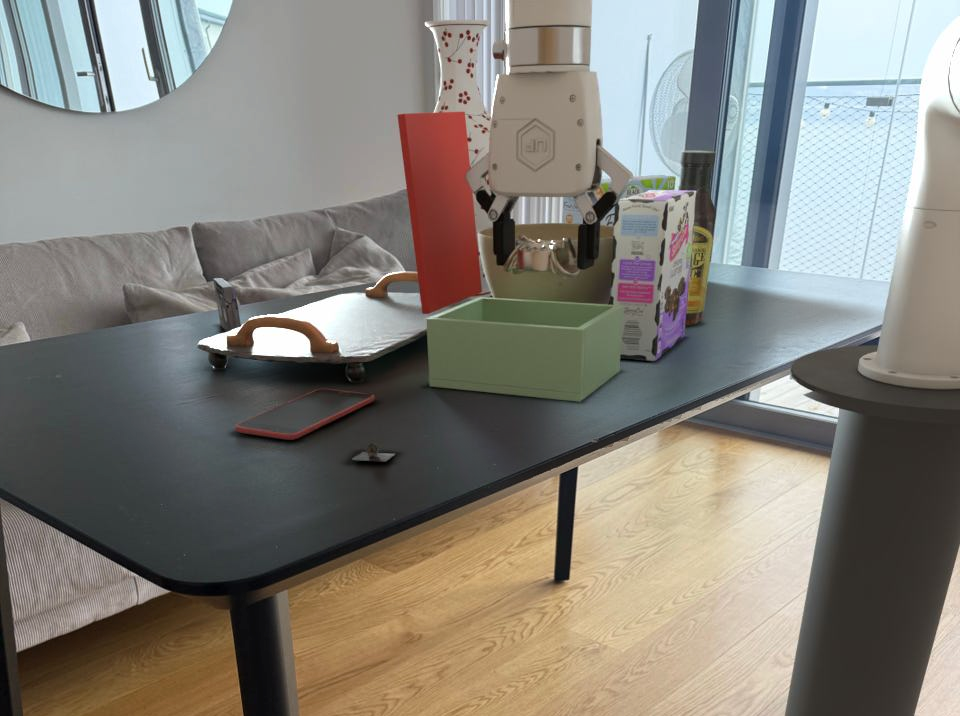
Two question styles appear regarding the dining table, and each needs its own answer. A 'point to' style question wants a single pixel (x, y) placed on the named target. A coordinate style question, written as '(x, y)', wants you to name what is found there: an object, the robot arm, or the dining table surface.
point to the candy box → (652, 269)
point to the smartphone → (304, 414)
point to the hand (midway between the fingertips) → (545, 264)
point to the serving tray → (330, 330)
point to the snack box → (636, 187)
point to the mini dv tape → (226, 305)
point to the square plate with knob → (373, 454)
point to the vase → (465, 99)
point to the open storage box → (525, 347)
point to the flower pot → (547, 286)
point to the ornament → (543, 258)
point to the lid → (440, 207)
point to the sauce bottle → (698, 227)
